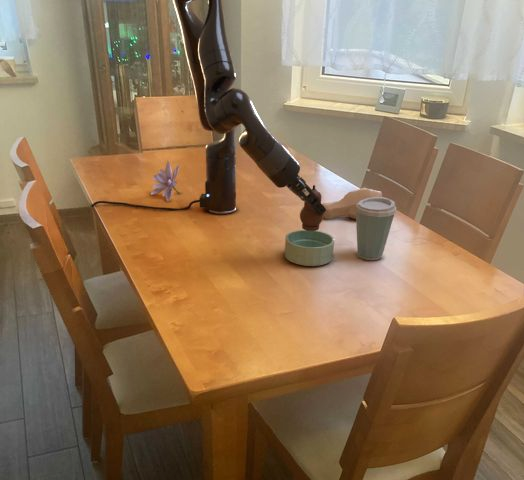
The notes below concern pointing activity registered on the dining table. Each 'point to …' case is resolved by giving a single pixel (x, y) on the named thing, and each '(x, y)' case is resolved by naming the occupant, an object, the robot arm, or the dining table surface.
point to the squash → (348, 203)
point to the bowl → (309, 247)
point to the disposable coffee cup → (373, 226)
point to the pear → (311, 214)
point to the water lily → (165, 181)
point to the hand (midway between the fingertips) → (318, 208)
